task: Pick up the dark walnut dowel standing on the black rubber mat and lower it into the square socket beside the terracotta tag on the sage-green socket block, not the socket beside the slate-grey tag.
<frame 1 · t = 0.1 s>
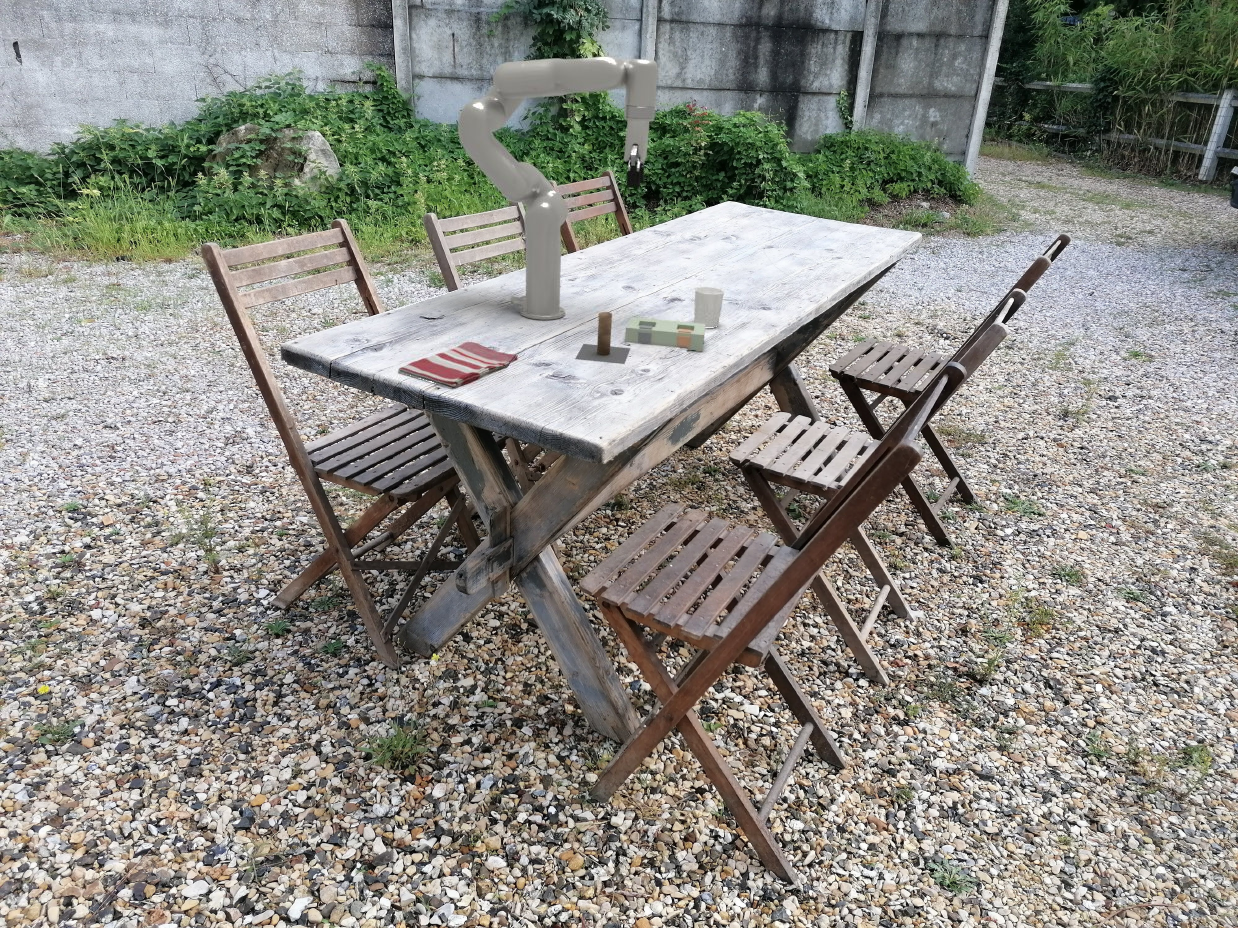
hand: (635, 185, 217), 37 cm above the table, tool pointing down, fingers open, 9 cm apart
socket block: (665, 342, 219), on the table
white cup: (705, 326, 235), on the table
mat: (603, 356, 206), on the table
dowel: (603, 353, 205), point 1 cm above the table, touching mat
dish towel: (460, 370, 194), on the table
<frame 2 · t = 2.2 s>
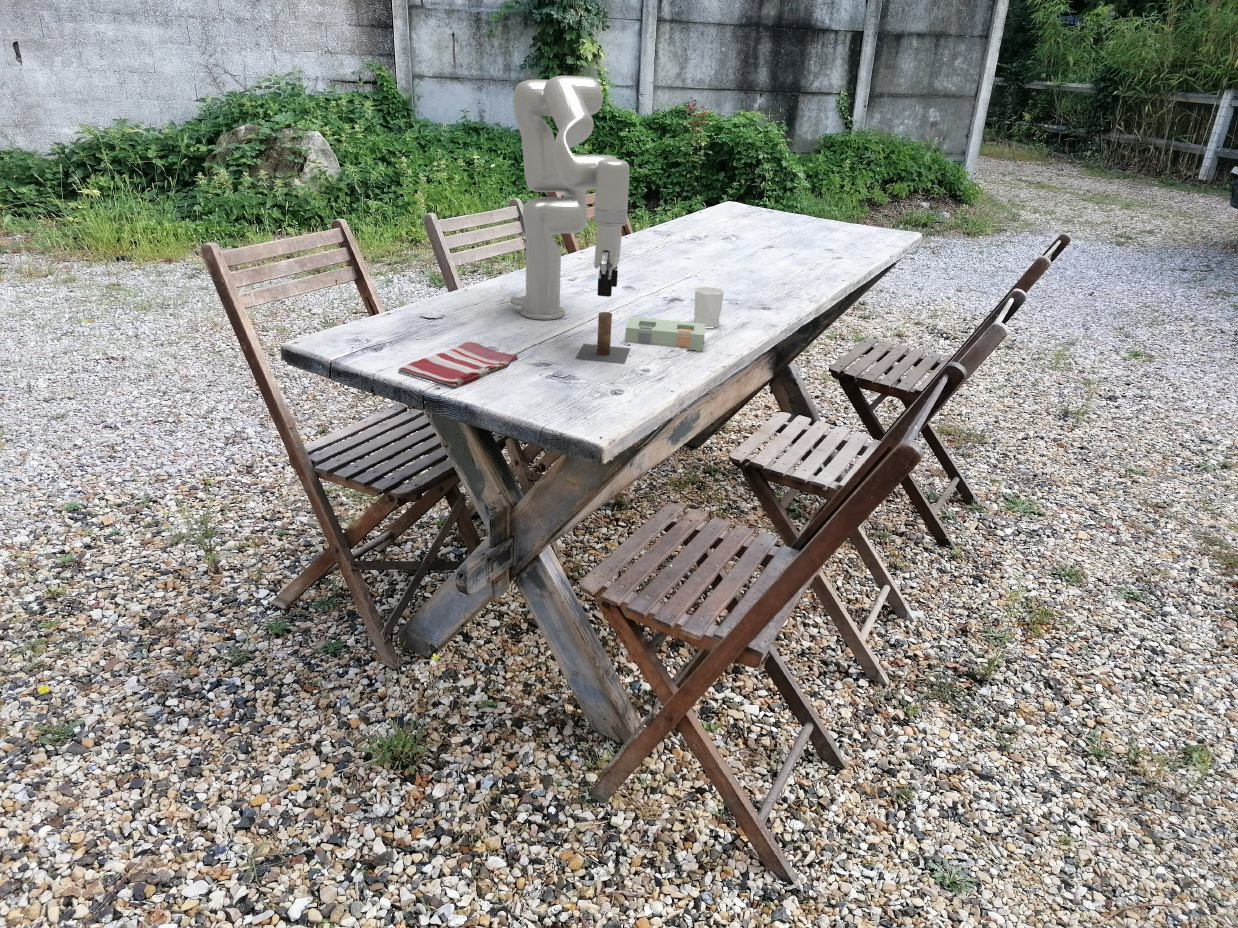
hand: (607, 291, 198), 16 cm above the table, tool pointing down, fingers open, 9 cm apart
nothing on the table moved.
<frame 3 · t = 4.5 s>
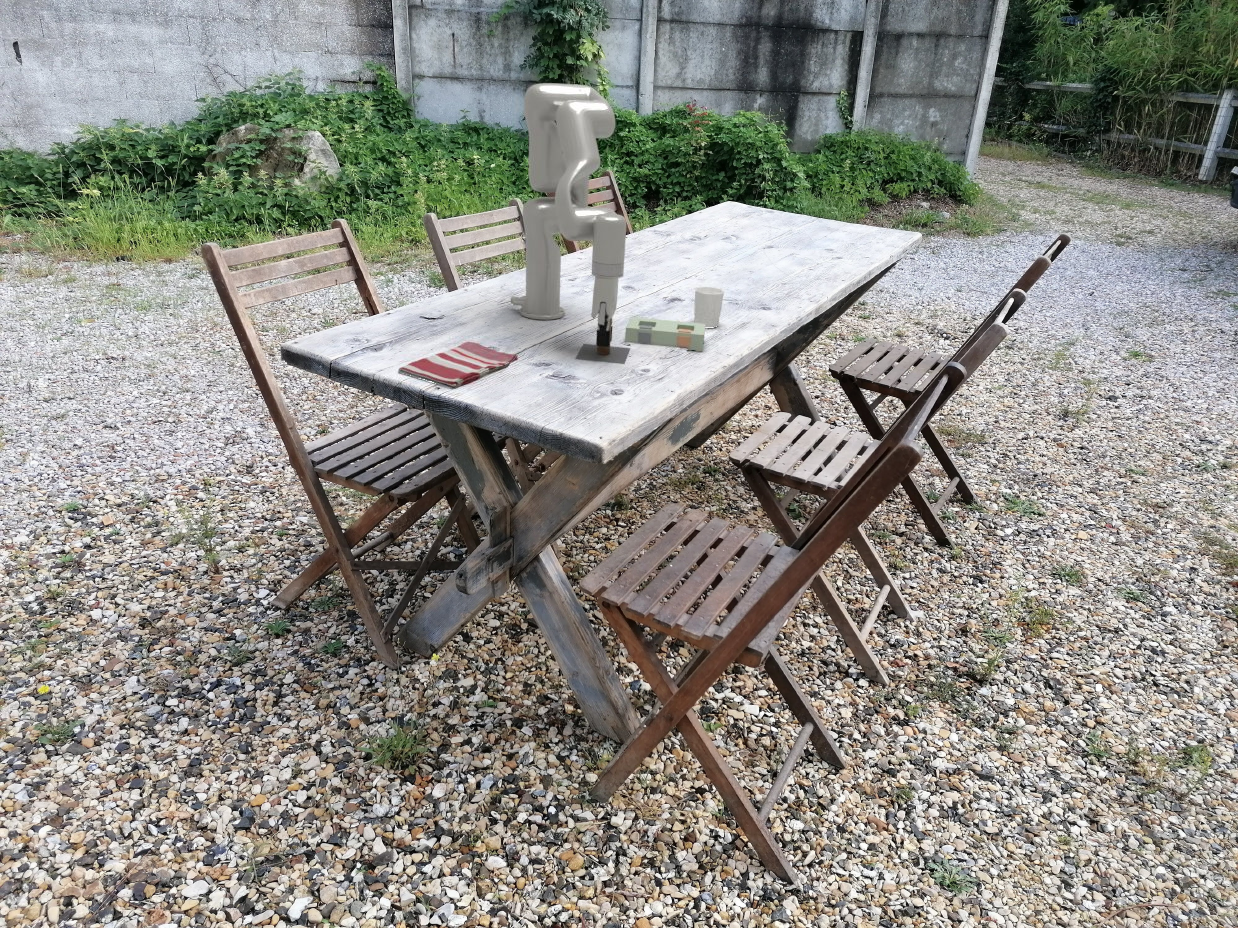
hand: (603, 343, 204), 4 cm above the table, tool pointing down, fingers closed on dowel, 3 cm apart
dowel: (603, 353, 205), point 1 cm above the table, touching gripper, mat
everything else where it was.
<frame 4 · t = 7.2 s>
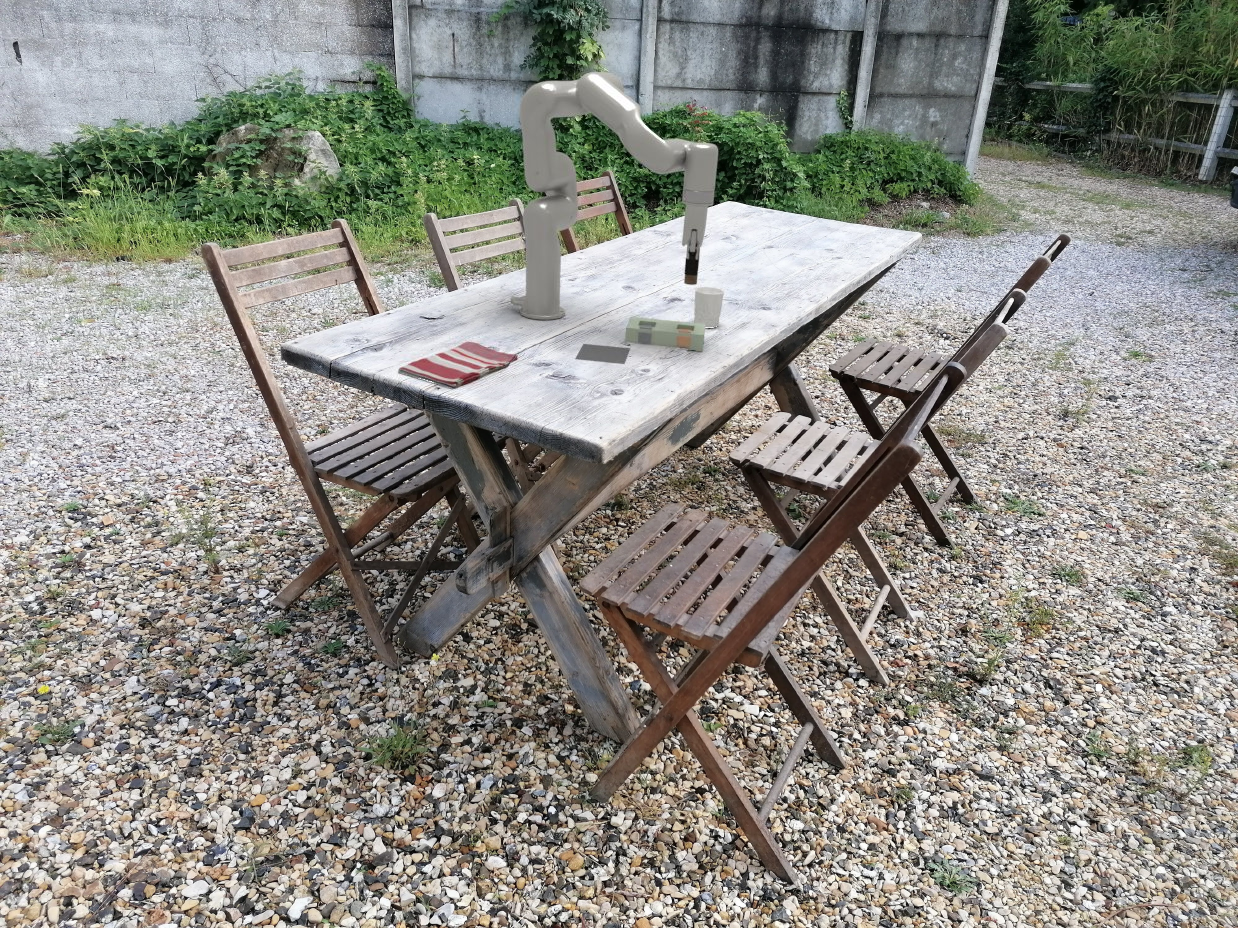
hand: (691, 272, 210), 19 cm above the table, tool pointing down, fingers closed on dowel, 3 cm apart
dowel: (690, 283, 211), point 16 cm above the table, touching gripper
everything else where it was.
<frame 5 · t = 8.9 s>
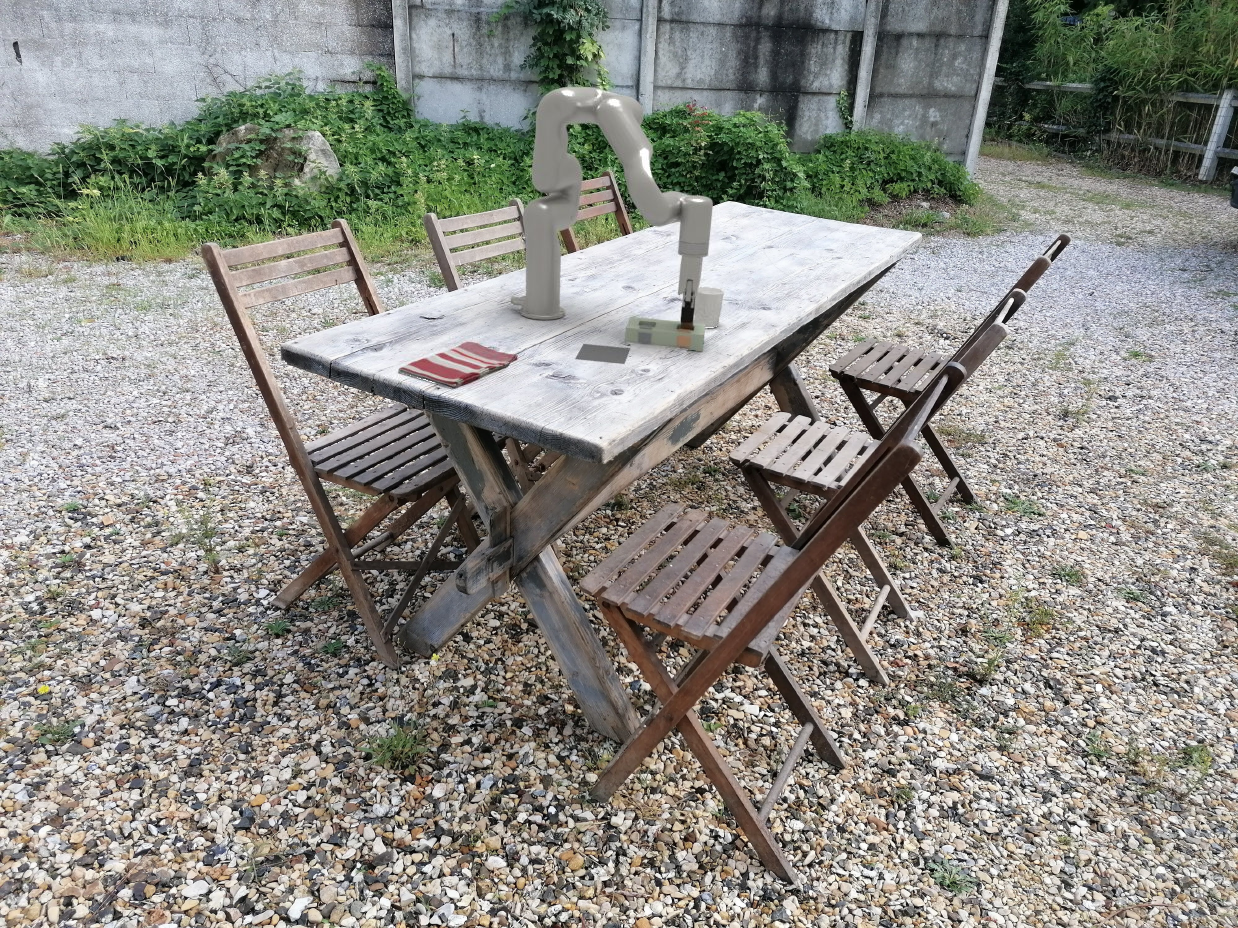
hand: (687, 319, 215), 7 cm above the table, tool pointing down, fingers closed on dowel, 3 cm apart
dowel: (686, 329, 216), point 4 cm above the table, touching gripper
everything else where it was.
when the fingers open (5 cm above the table, at t = 10.0 s): dowel drops 3 cm, resting in socket block.
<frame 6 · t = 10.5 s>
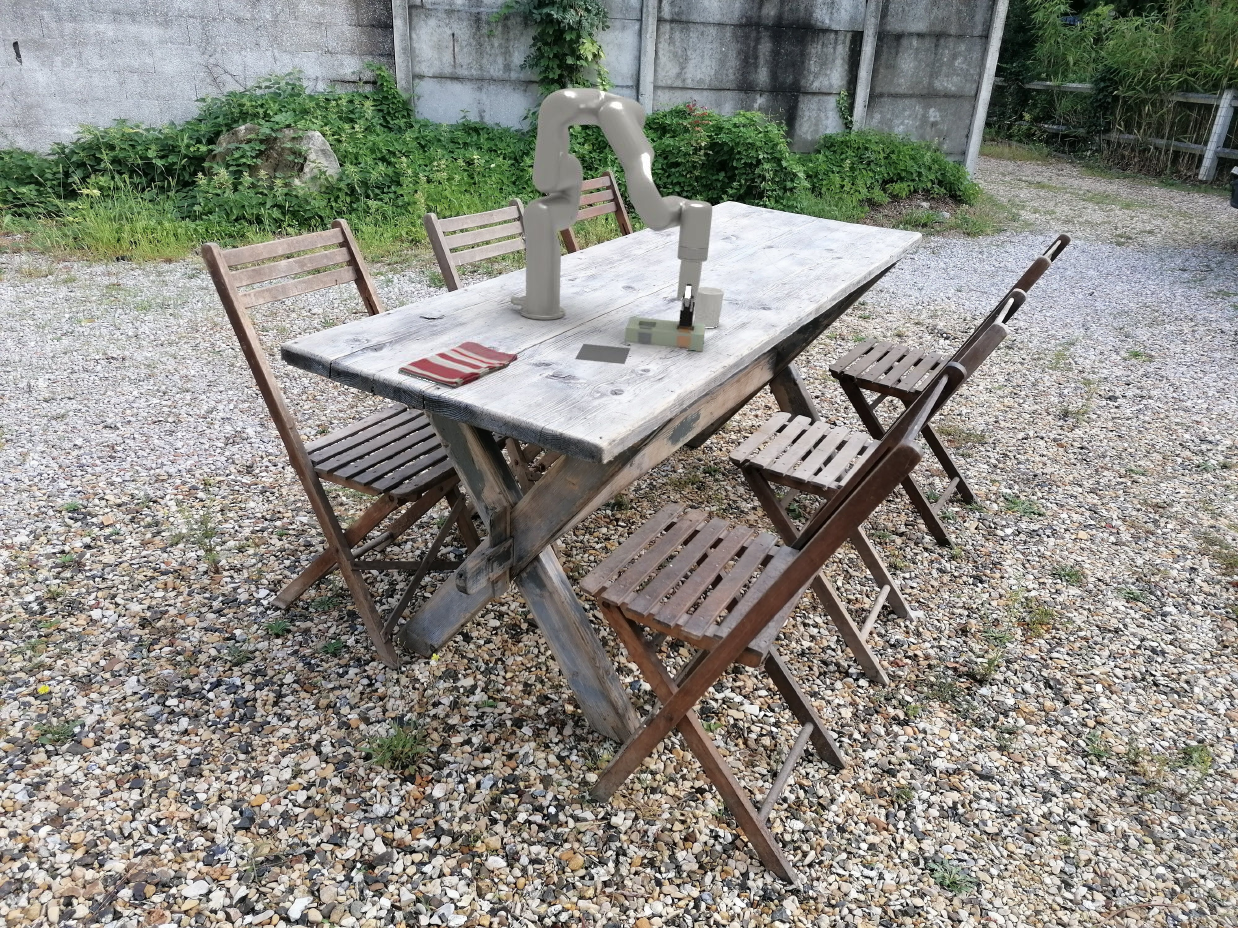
hand: (686, 320, 215), 6 cm above the table, tool pointing down, fingers open, 8 cm apart
dowel: (684, 344, 218), resting in socket block
everything else where it was.
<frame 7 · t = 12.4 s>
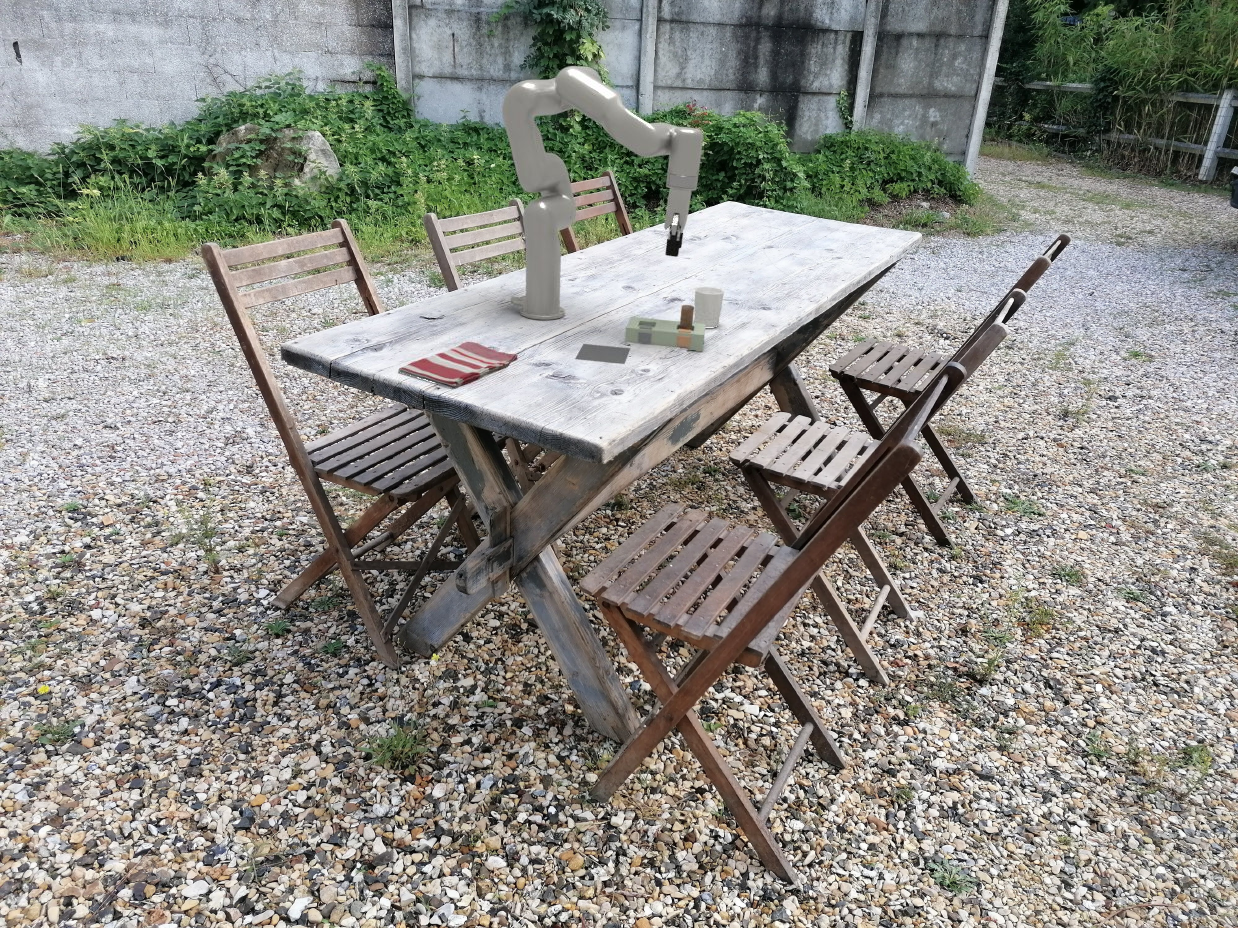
hand: (673, 251, 212), 23 cm above the table, tool pointing down, fingers open, 9 cm apart
nothing on the table moved.
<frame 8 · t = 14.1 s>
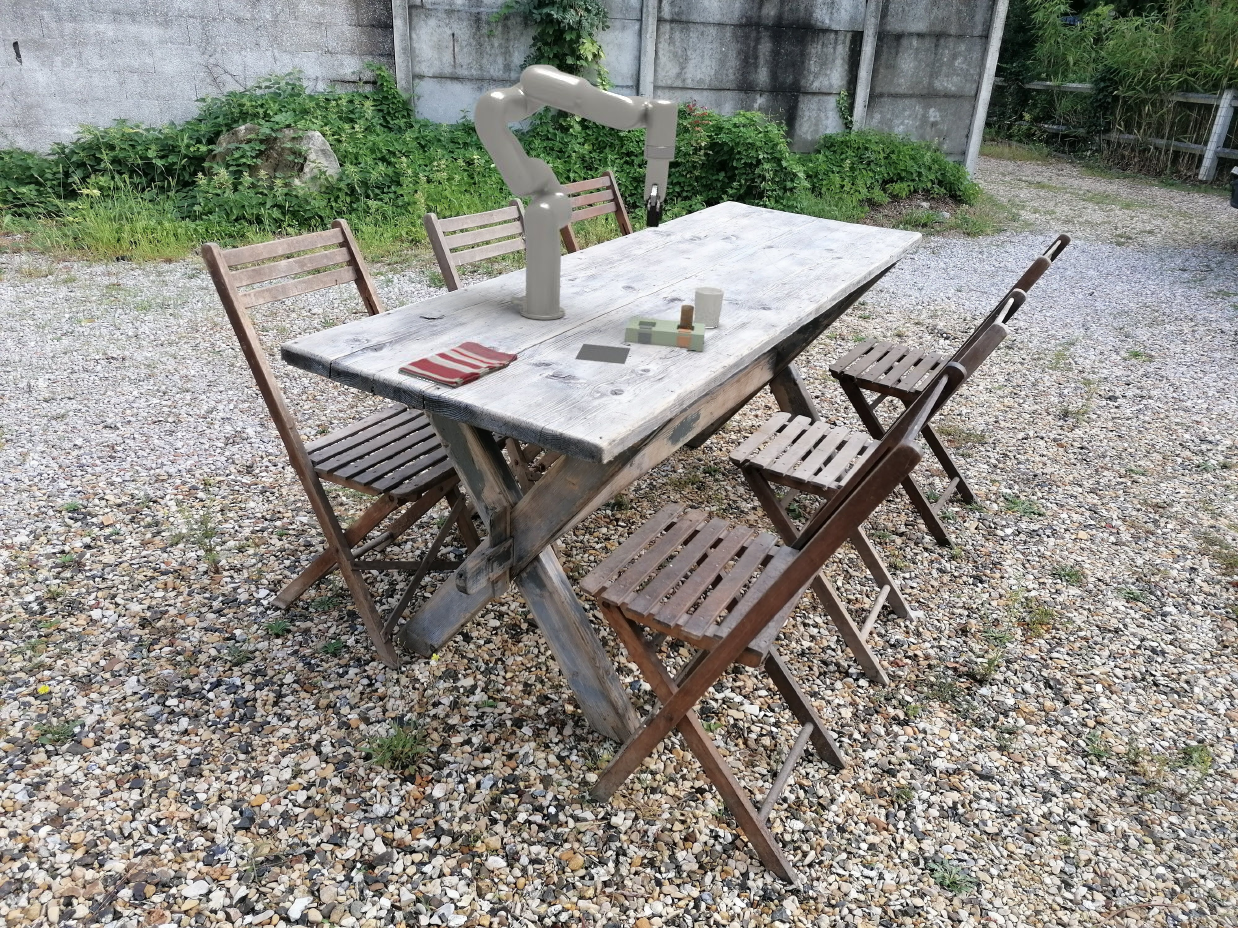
hand: (654, 223, 216), 28 cm above the table, tool pointing down, fingers open, 9 cm apart
nothing on the table moved.
at the end: dowel 0.1 cm from the target spot on the socket block, point 0.0 cm above the socket block's base; dowel tilted 0°; the gripper is holding nothing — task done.
